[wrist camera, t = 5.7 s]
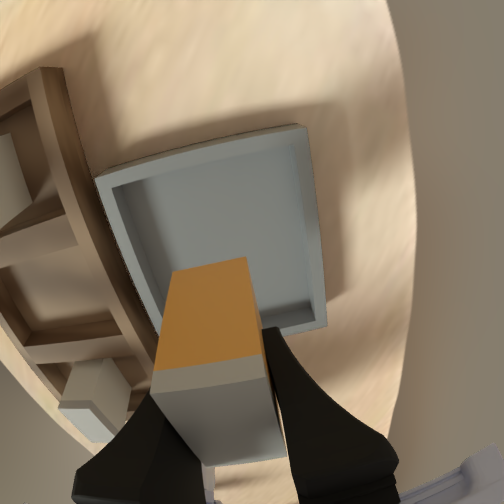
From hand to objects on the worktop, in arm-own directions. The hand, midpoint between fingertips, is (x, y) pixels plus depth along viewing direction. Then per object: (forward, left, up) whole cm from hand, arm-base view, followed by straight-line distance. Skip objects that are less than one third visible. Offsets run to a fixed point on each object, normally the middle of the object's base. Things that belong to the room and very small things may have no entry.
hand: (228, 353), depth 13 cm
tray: (0, 0, -10) cm, 10 cm away
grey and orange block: (+1, 0, -2) cm, 2 cm away
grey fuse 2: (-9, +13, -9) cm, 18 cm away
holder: (0, +13, -10) cm, 16 cm away
